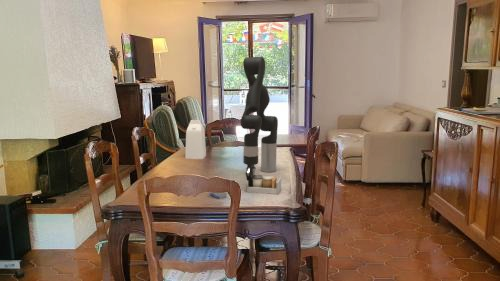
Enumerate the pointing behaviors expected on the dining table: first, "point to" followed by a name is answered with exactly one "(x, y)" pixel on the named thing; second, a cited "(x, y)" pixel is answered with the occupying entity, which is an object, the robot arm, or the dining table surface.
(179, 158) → the dining table surface
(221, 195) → the medicine box
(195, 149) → the milk
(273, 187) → the pusher
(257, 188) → the grey tray
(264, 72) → the robot arm
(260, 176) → the cream jar
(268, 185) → the brown jar
